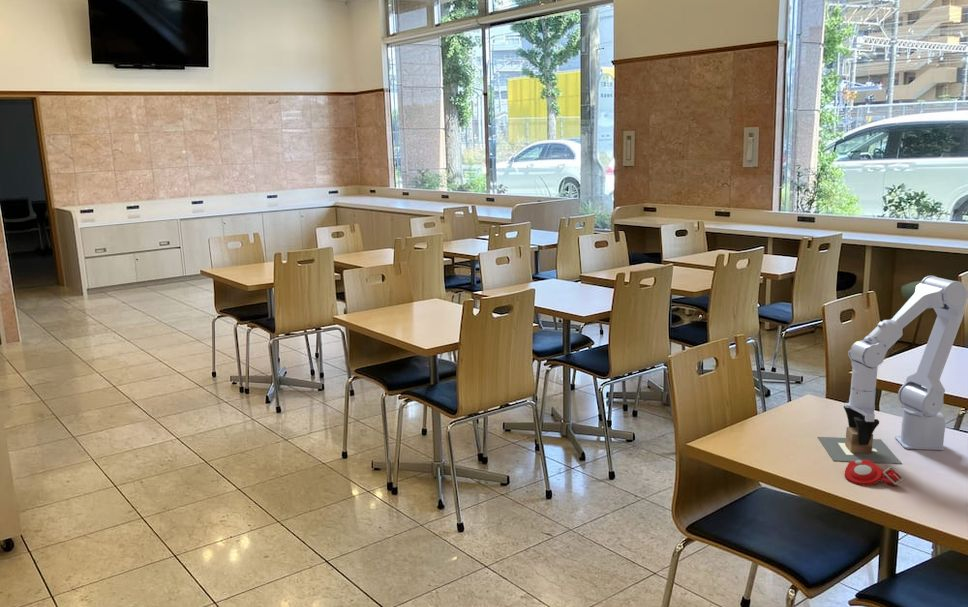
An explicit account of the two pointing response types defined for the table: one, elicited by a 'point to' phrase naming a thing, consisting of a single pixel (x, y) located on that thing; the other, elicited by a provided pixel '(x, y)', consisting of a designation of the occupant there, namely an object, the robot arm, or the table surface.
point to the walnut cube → (856, 442)
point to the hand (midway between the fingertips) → (858, 438)
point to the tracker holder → (870, 473)
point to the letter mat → (842, 453)
